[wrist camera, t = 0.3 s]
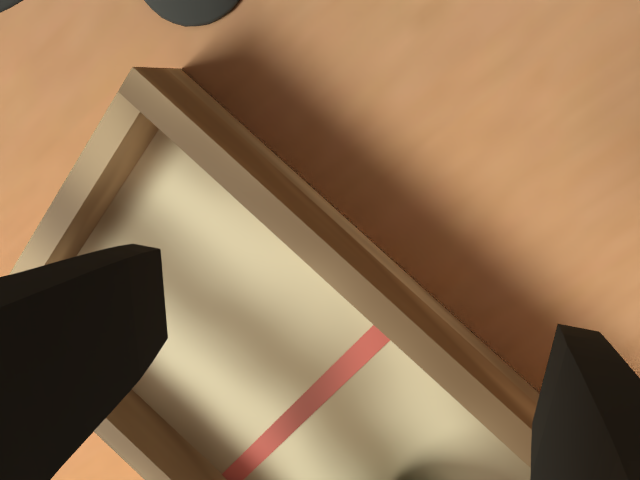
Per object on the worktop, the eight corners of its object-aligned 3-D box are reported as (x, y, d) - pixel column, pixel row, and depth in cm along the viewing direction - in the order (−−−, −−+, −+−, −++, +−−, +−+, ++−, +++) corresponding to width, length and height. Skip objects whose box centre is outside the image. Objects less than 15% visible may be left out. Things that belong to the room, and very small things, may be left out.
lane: (492, 728, 25) (492, 809, 22) (35, 297, 26) (-20, 323, 23) (762, 595, 20) (804, 678, 17) (180, 68, 21) (132, 67, 18)
